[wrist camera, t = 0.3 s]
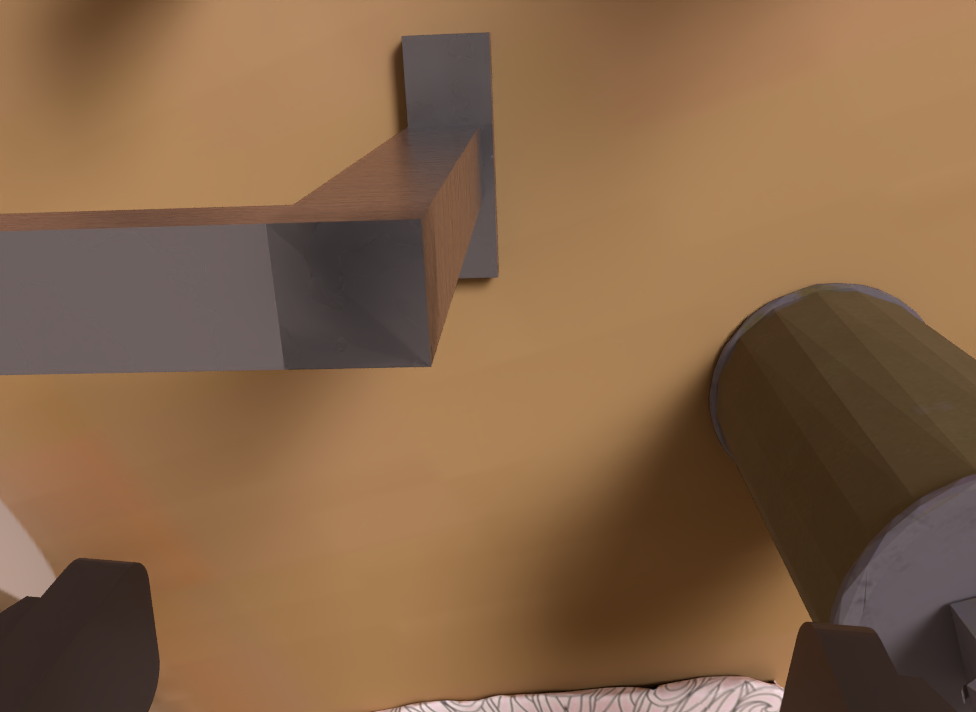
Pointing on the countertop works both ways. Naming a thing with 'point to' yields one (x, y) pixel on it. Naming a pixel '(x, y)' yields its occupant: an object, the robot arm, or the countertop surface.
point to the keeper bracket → (275, 255)
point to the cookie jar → (630, 699)
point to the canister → (863, 468)
